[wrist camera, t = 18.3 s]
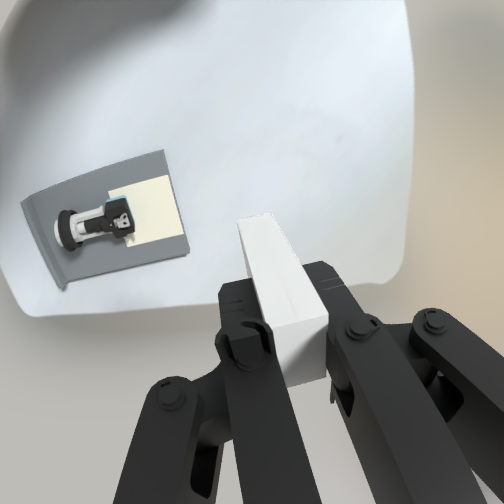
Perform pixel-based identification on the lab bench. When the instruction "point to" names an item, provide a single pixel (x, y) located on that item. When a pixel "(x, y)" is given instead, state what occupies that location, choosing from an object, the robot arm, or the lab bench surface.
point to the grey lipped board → (95, 195)
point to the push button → (94, 223)
